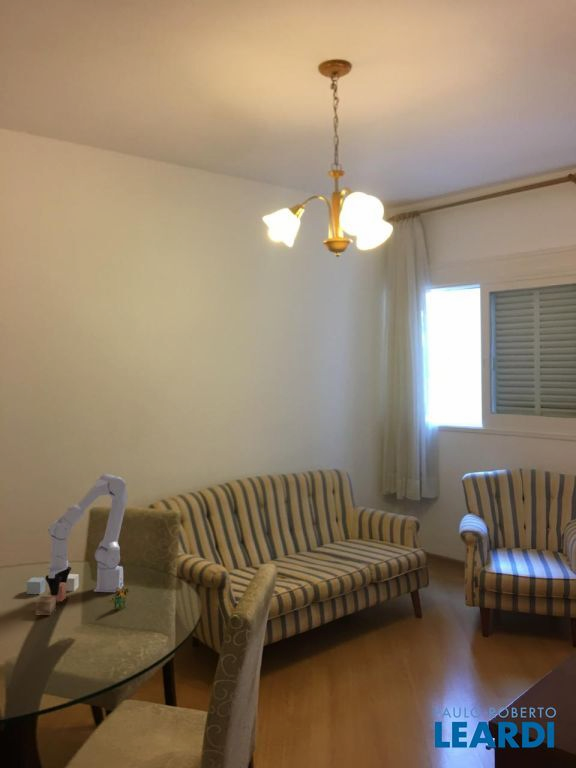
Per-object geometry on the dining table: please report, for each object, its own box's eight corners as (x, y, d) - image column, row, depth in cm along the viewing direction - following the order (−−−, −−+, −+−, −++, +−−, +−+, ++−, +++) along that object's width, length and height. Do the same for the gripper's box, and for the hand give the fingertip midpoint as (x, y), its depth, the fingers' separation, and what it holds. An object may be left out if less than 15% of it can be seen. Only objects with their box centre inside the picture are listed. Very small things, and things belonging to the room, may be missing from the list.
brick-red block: (65, 598, 237) (65, 582, 237) (61, 602, 233) (62, 586, 233) (54, 598, 237) (55, 582, 237) (50, 602, 233) (51, 586, 233)
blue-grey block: (45, 590, 245) (45, 577, 244) (40, 595, 240) (40, 582, 239) (32, 590, 245) (32, 577, 244) (26, 595, 240) (27, 581, 239)
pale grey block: (78, 586, 249) (78, 574, 249) (74, 591, 244) (74, 578, 244) (65, 586, 250) (65, 573, 249) (61, 591, 245) (61, 578, 244)
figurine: (132, 604, 233) (132, 582, 232) (111, 616, 222) (111, 593, 221) (124, 603, 234) (125, 581, 234) (104, 614, 223) (104, 591, 222)
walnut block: (55, 610, 225) (55, 596, 225) (50, 616, 220) (50, 602, 220) (41, 610, 226) (41, 596, 225) (35, 616, 221) (35, 601, 220)
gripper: (55, 548, 242) (54, 584, 242) (40, 560, 227) (39, 598, 228) (74, 549, 242) (73, 584, 242) (60, 560, 227) (59, 598, 228)
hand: (58, 591), depth 235 cm, fingers open, 7 cm apart
